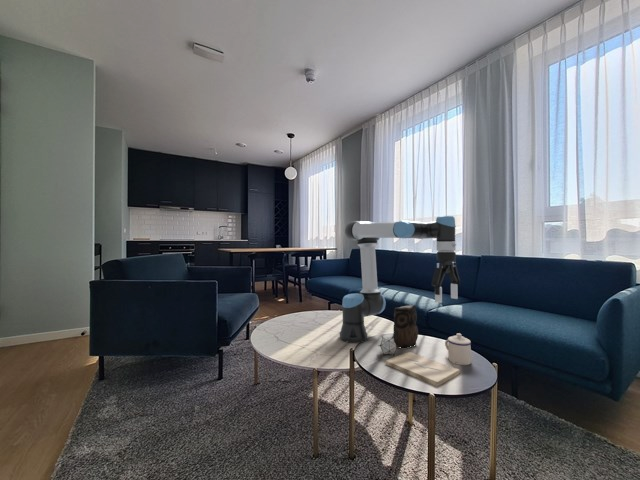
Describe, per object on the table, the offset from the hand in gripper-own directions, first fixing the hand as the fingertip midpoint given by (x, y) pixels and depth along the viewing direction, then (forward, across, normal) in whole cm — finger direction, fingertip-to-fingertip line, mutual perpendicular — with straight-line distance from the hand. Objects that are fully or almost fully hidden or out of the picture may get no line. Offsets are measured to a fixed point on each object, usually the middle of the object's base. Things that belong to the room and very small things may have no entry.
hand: (446, 300), depth 116 cm
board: (+26, -16, +3) cm, 30 cm away
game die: (+26, -14, +20) cm, 36 cm away
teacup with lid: (+26, +4, -2) cm, 27 cm away
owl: (+26, +3, +24) cm, 36 cm away
